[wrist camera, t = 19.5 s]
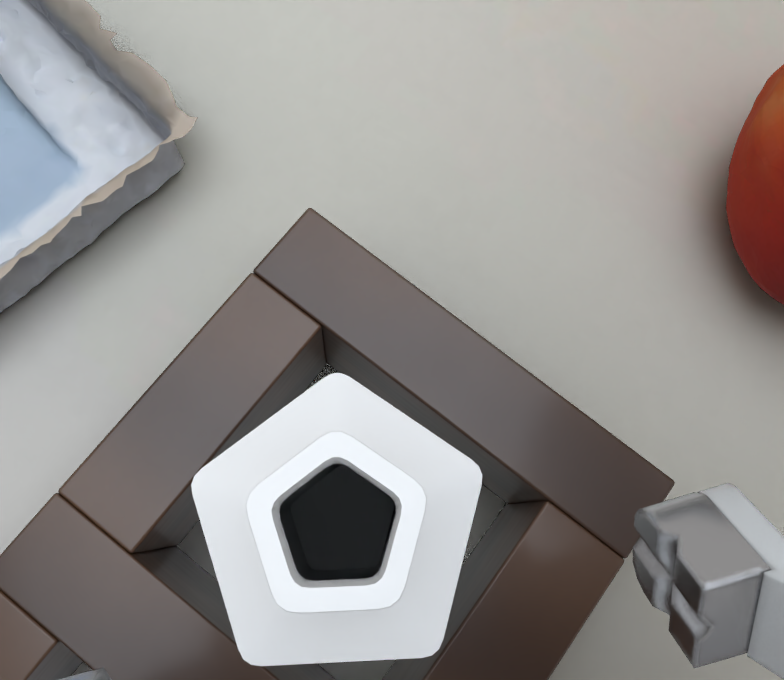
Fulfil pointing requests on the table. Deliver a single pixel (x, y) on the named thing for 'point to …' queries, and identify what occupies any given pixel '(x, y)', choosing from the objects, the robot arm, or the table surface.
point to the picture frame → (73, 136)
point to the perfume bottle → (337, 530)
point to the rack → (261, 401)
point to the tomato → (760, 189)
